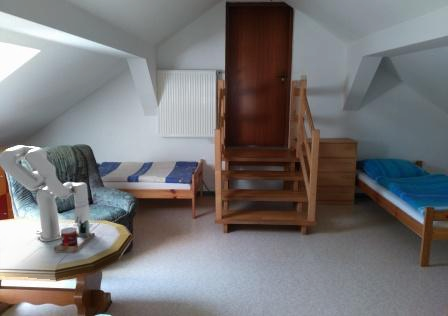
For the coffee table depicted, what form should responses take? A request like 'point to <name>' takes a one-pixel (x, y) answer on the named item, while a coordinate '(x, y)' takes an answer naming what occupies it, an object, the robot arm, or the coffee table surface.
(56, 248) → the wooden rectangular frame
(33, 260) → the coffee table surface
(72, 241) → the canned food
